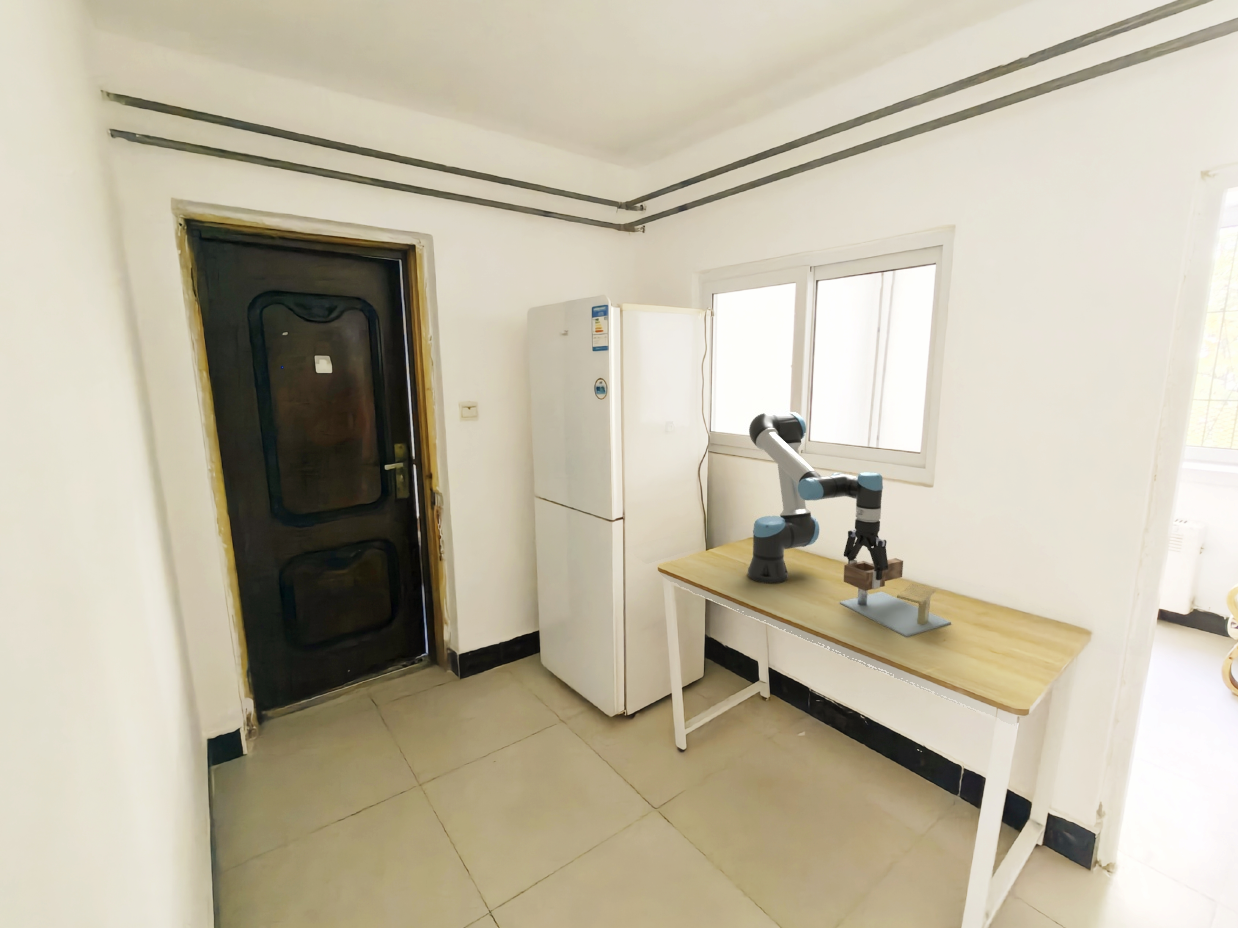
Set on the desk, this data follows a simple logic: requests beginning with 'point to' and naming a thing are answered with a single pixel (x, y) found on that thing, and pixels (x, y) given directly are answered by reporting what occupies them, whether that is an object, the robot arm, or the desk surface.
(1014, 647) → the desk surface
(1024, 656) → the desk surface
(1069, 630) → the desk surface
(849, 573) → the link
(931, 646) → the desk surface
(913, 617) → the board
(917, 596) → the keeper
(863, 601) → the cylinder
